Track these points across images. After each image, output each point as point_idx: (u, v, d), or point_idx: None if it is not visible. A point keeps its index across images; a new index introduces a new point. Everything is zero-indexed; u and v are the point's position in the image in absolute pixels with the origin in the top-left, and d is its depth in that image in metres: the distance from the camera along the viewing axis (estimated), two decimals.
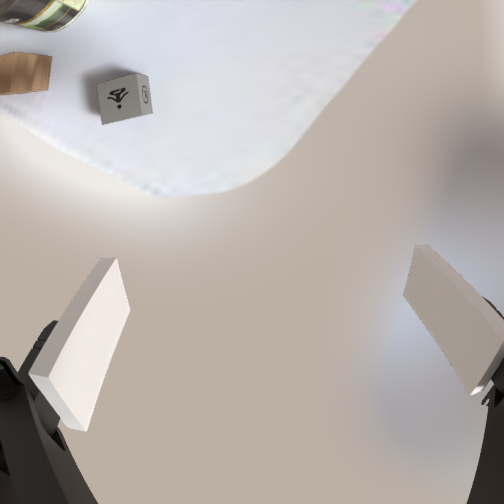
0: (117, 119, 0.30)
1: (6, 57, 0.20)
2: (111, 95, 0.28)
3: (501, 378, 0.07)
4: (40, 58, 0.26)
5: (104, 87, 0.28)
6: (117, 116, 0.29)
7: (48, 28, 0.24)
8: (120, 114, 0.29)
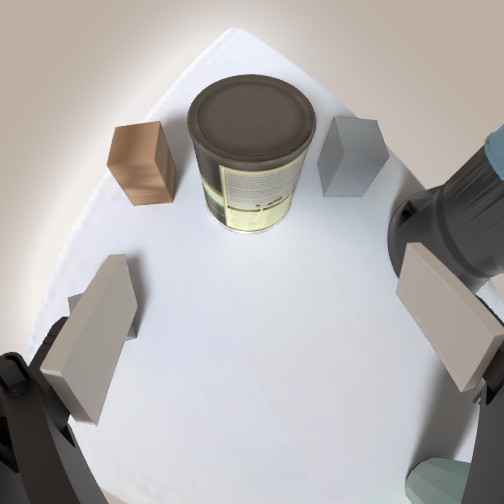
0: None
1: (151, 148, 0.27)
2: None
3: (492, 376, 0.07)
4: (163, 190, 0.32)
5: None
6: None
7: None
8: None
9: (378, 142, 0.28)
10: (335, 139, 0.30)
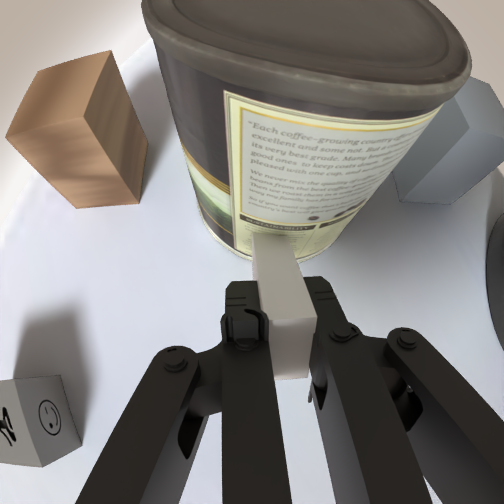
0: None
1: (83, 95, 0.11)
2: (3, 410, 0.10)
3: (315, 376, 0.08)
4: (116, 182, 0.16)
5: (11, 397, 0.11)
6: None
7: None
8: None
9: (503, 119, 0.12)
10: None
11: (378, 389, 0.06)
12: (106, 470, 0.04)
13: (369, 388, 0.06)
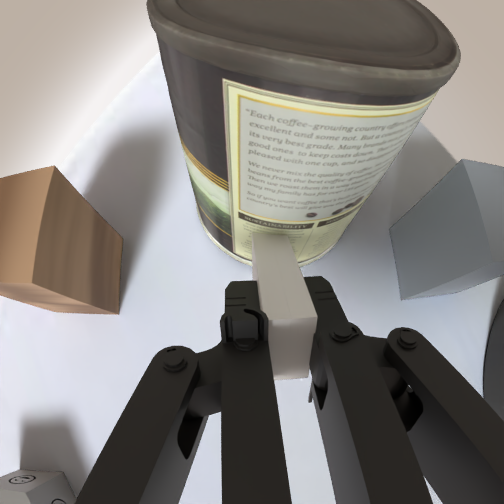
0: None
1: (28, 247, 0.09)
2: None
3: (315, 376, 0.08)
4: (90, 307, 0.15)
5: None
6: None
7: None
8: None
9: None
10: (460, 212, 0.12)
11: (378, 389, 0.06)
12: (106, 470, 0.04)
13: (369, 388, 0.06)
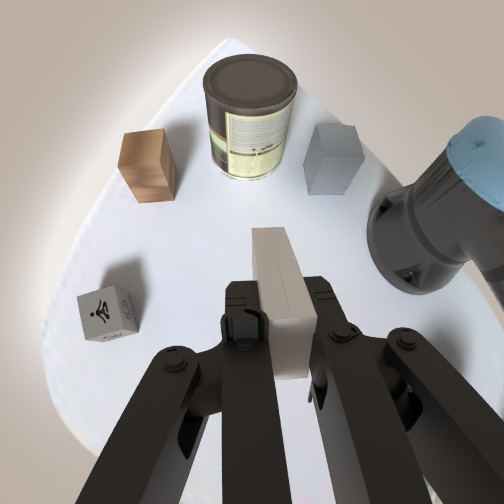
0: (81, 313, 0.30)
1: (157, 152, 0.32)
2: (103, 303, 0.30)
3: (315, 376, 0.08)
4: (166, 189, 0.37)
5: (110, 294, 0.31)
6: (83, 313, 0.30)
7: None
8: (85, 316, 0.30)
9: (355, 146, 0.33)
10: (317, 144, 0.34)
11: (378, 389, 0.06)
12: (106, 470, 0.04)
13: (369, 388, 0.06)
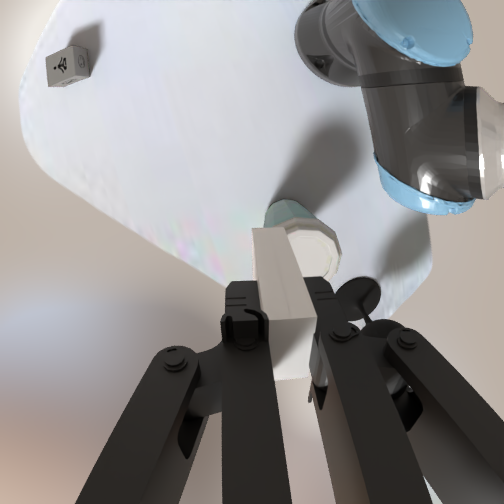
0: (47, 68, 0.30)
1: None
2: (63, 59, 0.30)
3: (315, 376, 0.08)
4: None
5: (69, 52, 0.30)
6: (49, 68, 0.30)
7: None
8: (50, 70, 0.30)
9: None
10: None
11: (378, 389, 0.06)
12: (106, 470, 0.04)
13: (369, 388, 0.06)
